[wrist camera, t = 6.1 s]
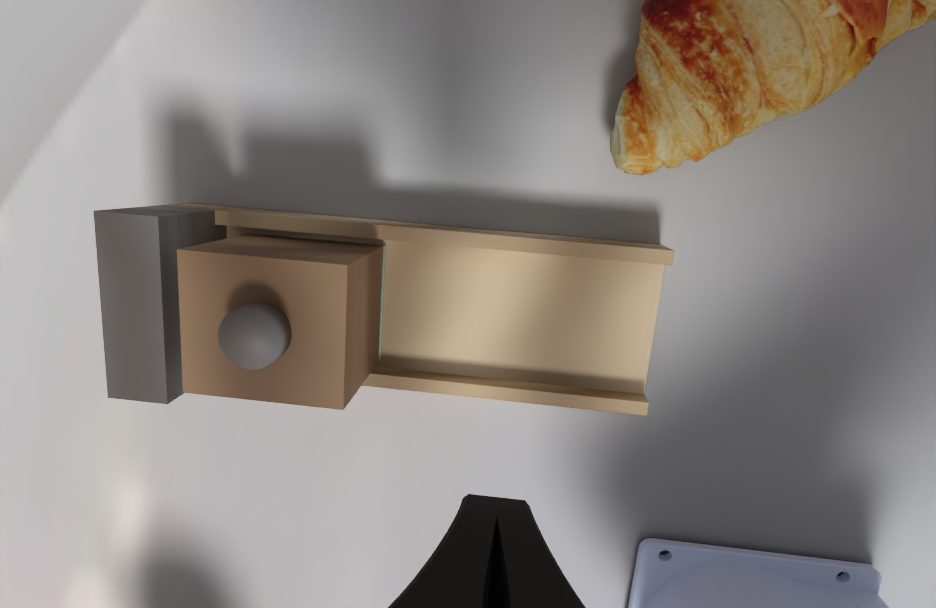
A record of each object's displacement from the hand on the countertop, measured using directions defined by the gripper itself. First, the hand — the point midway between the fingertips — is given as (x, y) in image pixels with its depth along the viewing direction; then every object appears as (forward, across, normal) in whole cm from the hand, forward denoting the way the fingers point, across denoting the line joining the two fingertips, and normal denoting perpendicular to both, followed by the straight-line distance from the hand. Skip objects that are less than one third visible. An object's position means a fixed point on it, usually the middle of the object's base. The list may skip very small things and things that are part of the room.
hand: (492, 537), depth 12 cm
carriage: (+9, +7, -2) cm, 12 cm away
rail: (+10, +4, -2) cm, 11 cm away
